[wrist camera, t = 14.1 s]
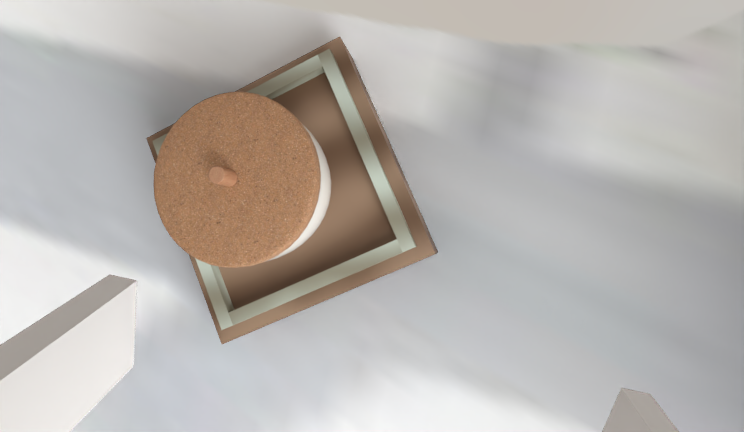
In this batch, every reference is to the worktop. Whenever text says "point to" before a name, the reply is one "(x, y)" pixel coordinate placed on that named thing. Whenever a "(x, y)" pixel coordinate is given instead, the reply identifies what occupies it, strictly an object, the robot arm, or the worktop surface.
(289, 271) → the tray
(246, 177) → the lidded jar
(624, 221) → the worktop surface
